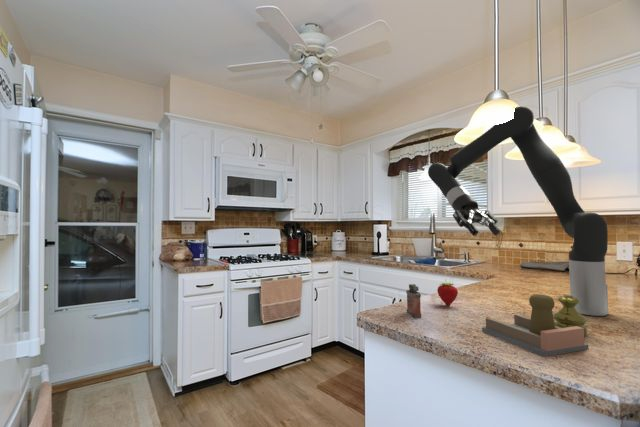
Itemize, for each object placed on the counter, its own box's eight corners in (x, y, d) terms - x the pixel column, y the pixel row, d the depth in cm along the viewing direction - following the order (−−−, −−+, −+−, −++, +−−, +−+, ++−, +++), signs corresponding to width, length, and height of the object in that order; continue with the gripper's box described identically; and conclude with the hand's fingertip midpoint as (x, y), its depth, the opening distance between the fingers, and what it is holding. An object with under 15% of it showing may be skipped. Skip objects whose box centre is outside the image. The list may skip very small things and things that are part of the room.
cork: (563, 344, 76) (561, 298, 76) (535, 343, 77) (533, 297, 77) (550, 336, 81) (548, 292, 82) (524, 334, 83) (522, 292, 83)
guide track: (521, 326, 93) (520, 308, 93) (588, 348, 75) (587, 327, 76) (482, 331, 89) (481, 313, 89) (543, 356, 72) (542, 333, 72)
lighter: (404, 311, 109) (404, 282, 110) (414, 311, 110) (413, 282, 110) (413, 318, 101) (412, 287, 102) (423, 318, 102) (422, 286, 102)
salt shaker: (582, 329, 89) (580, 293, 89) (591, 338, 82) (590, 299, 83) (550, 326, 92) (549, 291, 92) (556, 334, 85) (555, 297, 86)
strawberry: (451, 309, 111) (451, 280, 112) (433, 305, 118) (433, 277, 118) (462, 306, 115) (461, 279, 115) (443, 302, 121) (443, 276, 121)
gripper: (449, 193, 111) (475, 226, 99) (482, 193, 115) (511, 225, 103) (440, 209, 115) (463, 242, 104) (472, 209, 119) (498, 241, 108)
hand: (487, 233), depth 104 cm, fingers open, 8 cm apart
